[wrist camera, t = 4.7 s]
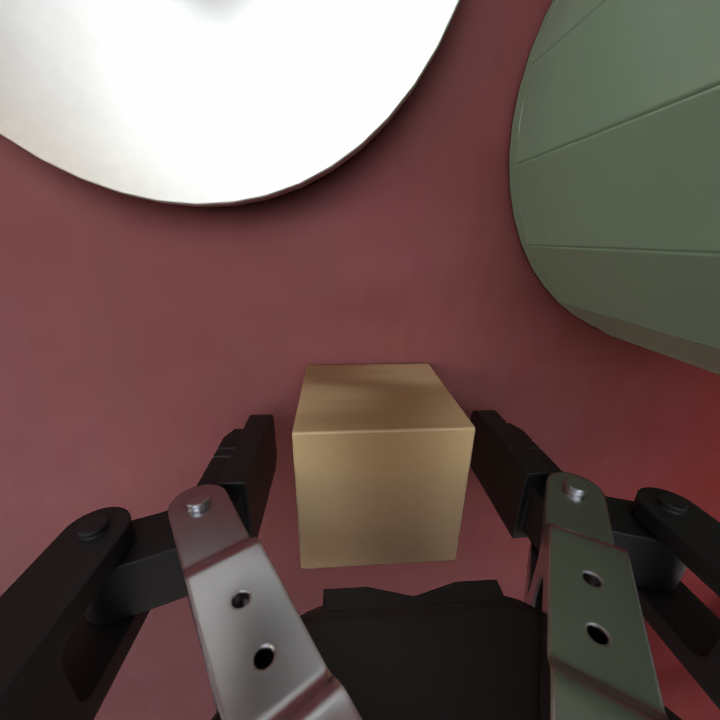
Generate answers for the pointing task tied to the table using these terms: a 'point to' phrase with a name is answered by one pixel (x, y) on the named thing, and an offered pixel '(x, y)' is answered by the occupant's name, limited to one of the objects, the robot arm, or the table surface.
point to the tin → (625, 169)
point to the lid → (208, 89)
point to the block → (379, 465)
